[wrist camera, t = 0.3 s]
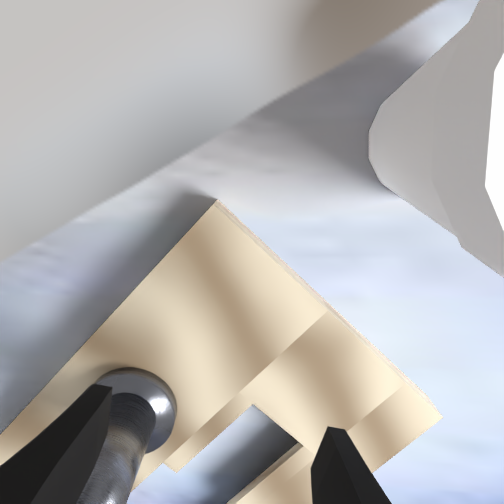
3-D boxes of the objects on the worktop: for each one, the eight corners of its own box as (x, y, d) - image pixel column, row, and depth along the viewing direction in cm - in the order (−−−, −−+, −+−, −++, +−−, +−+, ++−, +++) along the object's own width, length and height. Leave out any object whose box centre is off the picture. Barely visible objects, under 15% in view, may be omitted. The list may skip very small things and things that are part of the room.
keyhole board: (198, 578, 28) (193, 612, 25) (-4, 438, 25) (-28, 464, 22) (426, 394, 23) (443, 417, 21) (217, 199, 20) (213, 204, 18)
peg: (139, 459, 22) (83, 605, 15) (70, 407, 21) (-26, 536, 14) (195, 405, 21) (165, 534, 14) (125, 349, 20) (54, 456, 13)
